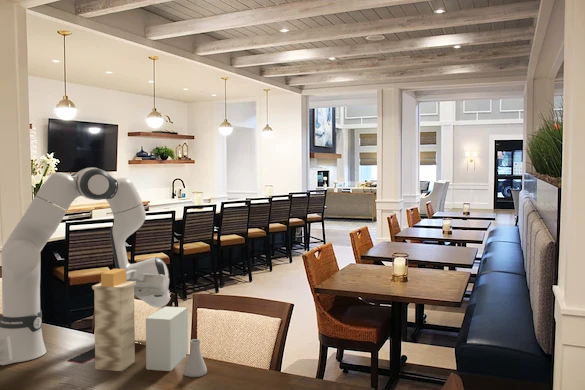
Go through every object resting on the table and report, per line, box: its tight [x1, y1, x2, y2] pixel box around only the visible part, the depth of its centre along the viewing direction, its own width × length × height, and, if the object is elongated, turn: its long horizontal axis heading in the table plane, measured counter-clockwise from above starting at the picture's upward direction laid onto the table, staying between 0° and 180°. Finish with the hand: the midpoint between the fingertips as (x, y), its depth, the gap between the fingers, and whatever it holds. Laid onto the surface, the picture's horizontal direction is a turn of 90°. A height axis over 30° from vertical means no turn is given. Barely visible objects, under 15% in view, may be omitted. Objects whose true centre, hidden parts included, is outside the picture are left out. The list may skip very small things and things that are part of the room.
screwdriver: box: [100, 268, 137, 287], centre depth 162 cm, size 17×4×4 cm, turn 170°
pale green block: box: [145, 306, 189, 372], centre depth 162 cm, size 8×14×16 cm, turn 170°
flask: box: [183, 338, 208, 378], centre depth 153 cm, size 7×7×10 cm
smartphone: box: [66, 347, 95, 365], centre depth 168 cm, size 7×1×14 cm
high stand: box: [91, 281, 136, 372], centre depth 159 cm, size 10×8×26 cm
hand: (128, 273), depth 167 cm, fingers closed on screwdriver, 2 cm apart
